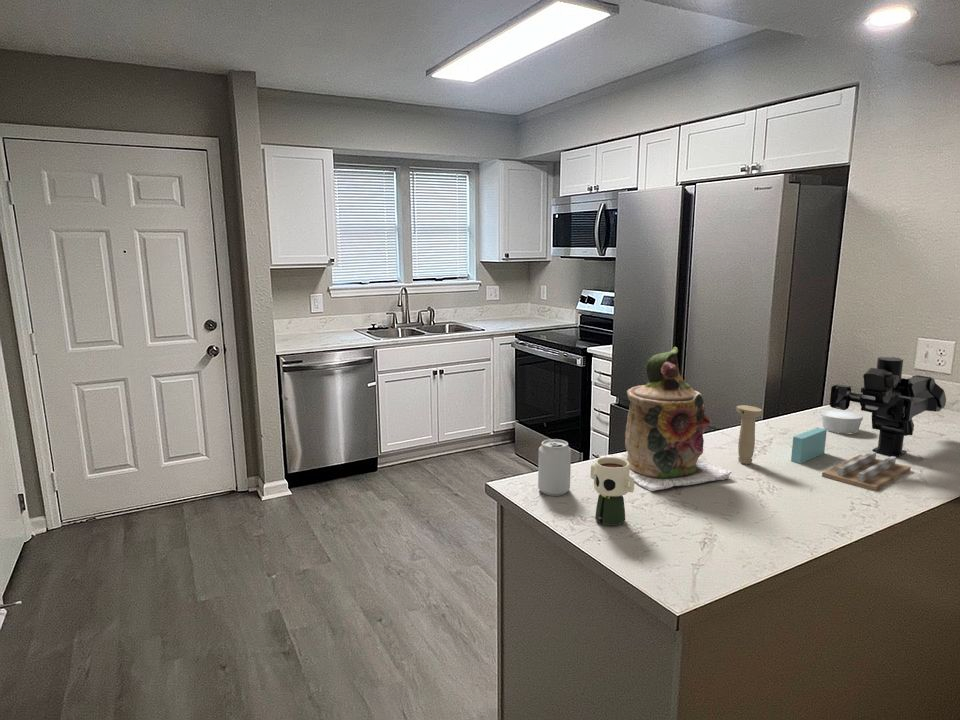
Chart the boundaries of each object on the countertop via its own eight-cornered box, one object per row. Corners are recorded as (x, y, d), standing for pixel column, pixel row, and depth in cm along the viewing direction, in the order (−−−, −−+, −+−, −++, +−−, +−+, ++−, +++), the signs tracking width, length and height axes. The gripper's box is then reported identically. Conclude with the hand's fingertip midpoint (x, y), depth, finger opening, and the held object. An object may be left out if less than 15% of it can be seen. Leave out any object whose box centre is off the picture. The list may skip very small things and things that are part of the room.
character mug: (579, 517, 130) (580, 459, 127) (600, 508, 134) (602, 452, 132) (621, 535, 121) (623, 473, 119) (642, 525, 126) (645, 465, 124)
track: (859, 458, 166) (860, 447, 165) (910, 470, 156) (911, 459, 156) (821, 476, 153) (823, 464, 152) (875, 491, 143) (876, 478, 143)
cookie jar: (595, 461, 164) (599, 344, 158) (669, 450, 173) (676, 339, 167) (653, 495, 141) (660, 359, 136) (735, 480, 150) (745, 352, 145)
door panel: (815, 451, 172) (817, 427, 171) (824, 453, 170) (826, 429, 169) (790, 461, 164) (793, 436, 162) (799, 464, 162) (802, 438, 160)
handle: (749, 468, 159) (753, 412, 156) (728, 460, 164) (732, 406, 161) (761, 464, 161) (766, 409, 158) (740, 457, 166) (744, 404, 164)
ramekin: (811, 427, 194) (813, 411, 193) (835, 423, 199) (836, 408, 198) (845, 437, 184) (847, 420, 183) (869, 432, 189) (870, 416, 188)
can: (549, 499, 139) (550, 449, 137) (532, 488, 145) (532, 440, 143) (576, 493, 142) (577, 444, 140) (558, 482, 149) (559, 435, 147)
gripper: (847, 362, 167) (820, 371, 158) (927, 374, 153) (901, 384, 144) (843, 401, 170) (816, 412, 161) (921, 416, 155) (896, 429, 146)
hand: (855, 408), depth 153 cm, fingers open, 9 cm apart
